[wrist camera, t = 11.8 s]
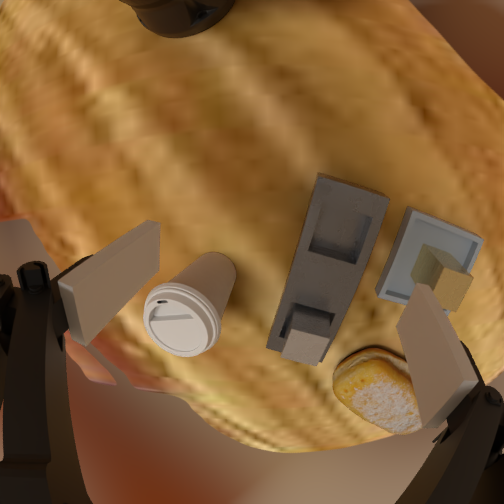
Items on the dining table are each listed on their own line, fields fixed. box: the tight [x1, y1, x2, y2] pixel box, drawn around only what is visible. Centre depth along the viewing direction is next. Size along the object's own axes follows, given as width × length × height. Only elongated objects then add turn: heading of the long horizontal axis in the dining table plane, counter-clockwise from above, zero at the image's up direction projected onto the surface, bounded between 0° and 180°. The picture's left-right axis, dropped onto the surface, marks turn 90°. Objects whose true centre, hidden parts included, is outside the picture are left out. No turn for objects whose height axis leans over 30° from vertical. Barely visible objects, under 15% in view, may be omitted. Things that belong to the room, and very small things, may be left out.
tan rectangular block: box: [410, 243, 473, 312], centre depth 32 cm, size 5×5×8 cm
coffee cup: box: [143, 252, 236, 357], centre depth 37 cm, size 10×10×15 cm
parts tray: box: [375, 206, 484, 316], centre depth 36 cm, size 13×13×2 cm
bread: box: [333, 348, 422, 435], centre depth 43 cm, size 13×26×8 cm, turn 55°
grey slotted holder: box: [266, 173, 390, 362], centre depth 39 cm, size 26×9×4 cm, turn 168°
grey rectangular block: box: [281, 302, 330, 366], centre depth 39 cm, size 5×5×8 cm
